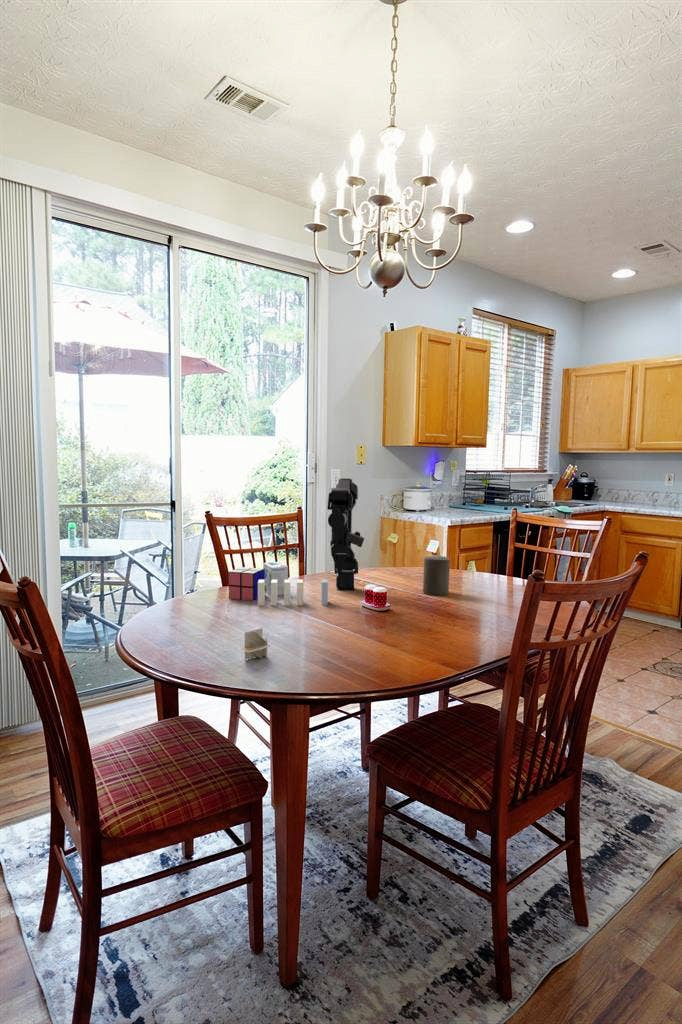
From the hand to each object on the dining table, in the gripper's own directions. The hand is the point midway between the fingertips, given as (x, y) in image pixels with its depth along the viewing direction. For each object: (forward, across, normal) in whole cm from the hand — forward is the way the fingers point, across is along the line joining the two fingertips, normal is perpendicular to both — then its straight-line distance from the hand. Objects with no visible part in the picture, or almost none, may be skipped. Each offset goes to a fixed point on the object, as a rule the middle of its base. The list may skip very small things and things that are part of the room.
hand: (339, 569), depth 204 cm
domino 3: (+12, -1, +18) cm, 22 cm away
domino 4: (+12, 0, +14) cm, 18 cm away
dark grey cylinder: (+12, +16, -37) cm, 42 cm away
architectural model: (+12, -57, +22) cm, 62 cm away
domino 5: (+12, 0, +5) cm, 13 cm away
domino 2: (+12, -1, +23) cm, 26 cm away
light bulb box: (+12, +16, +24) cm, 31 cm away
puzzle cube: (+12, +9, +33) cm, 37 cm away
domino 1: (+12, -1, +27) cm, 30 cm away
